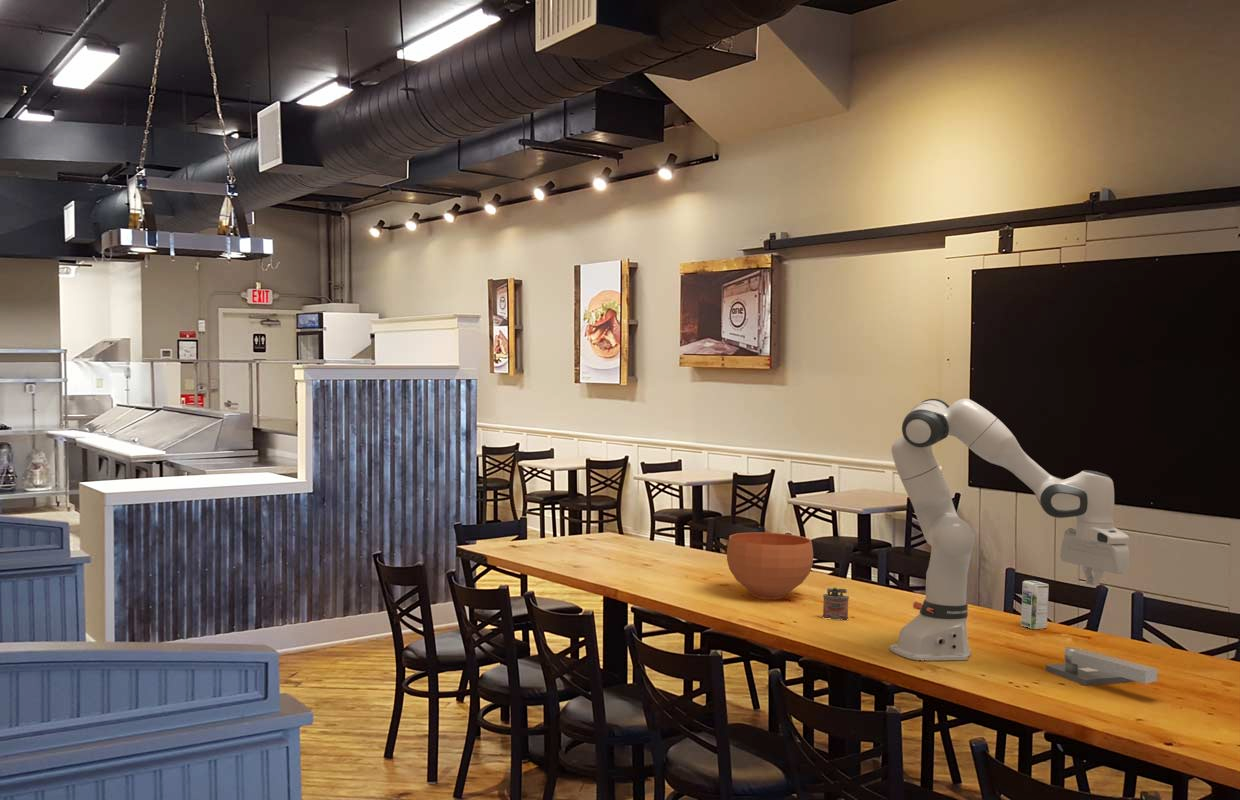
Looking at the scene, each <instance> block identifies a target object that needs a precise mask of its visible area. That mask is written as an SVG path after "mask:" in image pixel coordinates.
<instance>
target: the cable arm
mask: <svg viewBox="0 0 1240 800" xmlns="http://www.w3.org/2000/svg"><path fill="white" fill-rule="evenodd" d="M1064 661H1065V662H1066V661H1069V662H1071V663H1073V664H1077V665H1080V666H1084V667H1087V668H1091V669H1095V670H1098V671H1102V672H1105V673H1109V674H1112V675H1116V676H1120V677H1123V678H1127V679H1130V680H1134V681H1133V682H1138V683H1141V684H1144V685H1145V684H1150V683H1155V682H1158V679H1157V675H1158V676H1159V672H1158V669H1159V668H1155V667H1153V666H1147V665H1145V664H1140V663H1137V662H1133V661H1129V660H1126V659H1125V660H1124V659H1122V658H1118V657H1115V656H1110V655H1106V654H1103V653H1099V652H1095V651H1091V650H1087V649H1083V648H1082V649H1080V648H1077V647H1073V646H1066V647H1064Z"/></svg>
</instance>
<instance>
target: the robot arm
mask: <svg viewBox="0 0 1240 800" xmlns="http://www.w3.org/2000/svg"><path fill="white" fill-rule="evenodd" d="M902 421H903V422H902V425H901V433H902V435H903V436H900V437H898V438H897V439H896V440H895V441H894V442H893V444H892V445H891V455H892V459H893V463H894V465H895V469H896V472H897V474H898V476H899V479H900V480H901V483H902V485H903V487H904V490H905V491H906V493H907V496H908V499H909V500H910V503H911V505H912V508H913V510H914V514H915V516H916V518H917V519H916V520H917V522H918V524H919V527H920V529H921V531H922V533H923V537H924V539H925V541H926V542H927V544H928V545H929V546H931V547H930V548H931V550H930V558H929V562H928V568H927V570H926V573H925V574H926V575H925V577H926V579H925V599H924V600H923V603H921V602H918V601H914V602H912V607H913V609H914V610H919V614H917V615H916V616H915V617H914V618H913V619H912V620H910V621H909V622H907V624H905V625H904V626H903V627H901V629H900V631H899V634H898V639H897V643H893V644H890V645H889V650H890V651H891V652H892V651H893V652H892V653H894V654H896V655H898V656H900V657H904V658H907V659H910V660H914V661H919V660H921V661H924V660H925V661H926V662H927V661H967V660H969V656H971V650H970V646H969V645H970V644H969V641H968V640H969V639H968V631H967V630H968V629H967V618H968V614H969V612H968V611H969V610H968V609H969V607H968V604H967V592H968V589H967V587H968V573H969V568H970V563H971V559H972V553H973V549H974V547H975V541H976V539H975V534H974V532H973V529H972V527H971V525H970V524H969V523H967V522H966V520H963V519H961V518H960V516H959V515H958V513H957V511H956V510H957V509H956V508H955V505H954V501H953V499H952V495H951V490H950V488H949V486H948V483H947V481H946V479H945V477H944V475H943V473H942V470H941V468H940V466H939V465H938V463H937V460H936V458H935V455H934V452H933V450H932V449H933V448H932V447H933V445H936V444H938V442H941V441H943V440H944V439H946V438H947V437H948V436H951V437H955V438H956V439H957V440H959V441H961V442H962V443H963V444H964V445H965V446H966V447H967V448H969V449H970V451H972V452H973V453H974V454H975V455H977V456H979V458H981V459H983V460H985V461H986V462H989V463H990V464H992V465H993V464H994V465H996V466H1000V467H1003V468H1004V469H1006V470H1008V471H1009V472H1011V473H1012V474H1013V475H1014V476H1015V477H1017V478H1018V480H1020V481H1021V482H1023V483H1024V484H1025V485H1026V486H1027V487H1028V488H1029V489H1031V490H1032V491H1033V493H1034V494H1035V496H1036V499H1037V501H1038V503H1039V505H1040V507H1041V508H1042V510H1043V512H1045V513H1046V514H1047V515H1049V516H1050V517H1052V518H1056V519H1066V518H1073V517H1076V523H1075V524H1076V528H1073V527H1068V528H1067V529H1065V531H1064V532H1063V538H1062V541H1061V548H1060V554H1059V555H1060V558H1061V561H1062V562H1064V563H1068V564H1072V565H1077V566H1081V567H1082V572H1083V575H1084V577H1085V584H1087V585H1090V586H1094V587H1099V586H1100V584H1101V583H1100V580H1101V578H1102V577H1103V575H1104V573H1105V572H1106V573H1111V574H1115V575H1125V574H1127V573H1128V572H1129V570H1130V565H1131V563H1130V562H1131V560H1130V557H1131V556H1130V555H1131V554H1130V548H1129V546H1128V545H1127V544H1129V543H1130V536H1129V535H1128V534H1126V533H1125V532H1123V531H1121V530H1120V529H1118V528H1116V527H1115V526H1114V524H1115V523H1114V519H1113V510H1114V507H1115V487H1114V481H1113V479H1112V478H1111V476H1109V475H1108V474H1105V473H1102V472H1100V471H1099V472H1098V471H1095V470H1089V469H1088V470H1087V469H1084V470H1082V471H1080V472H1079V473H1077V474H1075V475H1073V476H1071V477H1068V478H1065V479H1064V478H1061V477H1058V476H1054V475H1052V474H1050V473H1049V472H1048V471H1046V469H1044V468H1043V467H1042V466H1040V465H1039V464H1038V463H1037V462H1036V461H1035V460H1034V459H1032V458H1031V457H1030V456H1029V455H1028V454H1027V453H1026V451H1024V450H1023V448H1022V447H1021V445H1020V443H1019V442H1018V440H1017V438H1016V436H1015V435H1014V434H1013V432H1012V431H1011V430H1010V429H1009V428H1008V427H1007V426H1006V425H1005V424H1004V423H1003V422H1002V421H1001V420H1000V419H999V418H998V417H997V416H996V415H994V414H993V413H992V412H990V411H989V410H988V409H986V408H985V407H984V406H982V405H980V404H978V403H977V402H975V401H973V400H972V399H970V398H961V399H958V400H956V401H954V402H952V404H951V405H949V404H948V403H947V402H945V401H944V400H941V399H938V398H928V399H925V400H923V401H921V402H920V403H918V404H917V405H915V406H914V407H913V408H912V409H911V410H910V412H909V413H908V414H907V415H905V417H904V419H903V420H902ZM1092 571H1093V573H1094V575H1093V573H1092ZM921 661H920V662H921Z"/></svg>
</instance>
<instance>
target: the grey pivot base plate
mask: <svg viewBox="0 0 1240 800" xmlns="http://www.w3.org/2000/svg"><path fill="white" fill-rule="evenodd" d="M1045 671H1046V672H1049V673H1051V674H1054V675H1055V676H1056V675H1057V676H1058V677H1062V678H1064V679H1067V680H1070V681H1072V682H1075V683H1078V684H1080V685H1083V686H1086V687H1089V686H1098V685H1108V684H1119V683H1130V682H1131V681H1132V682H1135V681H1134V680H1130V679H1127V678H1123V677H1120V676H1116V675H1112V674H1109V673H1105V672H1102V671H1098V670H1095V669H1091V668H1087V667H1084V666H1080V665H1077V664H1073V663H1071V662H1069V661H1066V660H1065V663H1054V664H1052V663H1051V664H1045ZM1157 678H1158V679H1159V674H1158V675H1157ZM1088 685H1089V686H1088Z"/></svg>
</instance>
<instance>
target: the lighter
mask: <svg viewBox="0 0 1240 800" xmlns="http://www.w3.org/2000/svg"><path fill="white" fill-rule="evenodd" d="M826 590H827V591H826V592H827V593H826V594H825V593H824V594H823V595H822V597H823V604H822V605H823V608H822V609H823V610H822V612H823V613H822V618H823V617H824V618H831V619H840V620H839V621H842V620H847V619H848V620H849V616H848V614H849V599H850V597H849V596H848V595H844V594H847V592H848V590H847V588H837V587H835V586H834V587H833V588H830V587H829V588H826ZM841 619H842V620H841ZM848 620H847V621H848Z"/></svg>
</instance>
